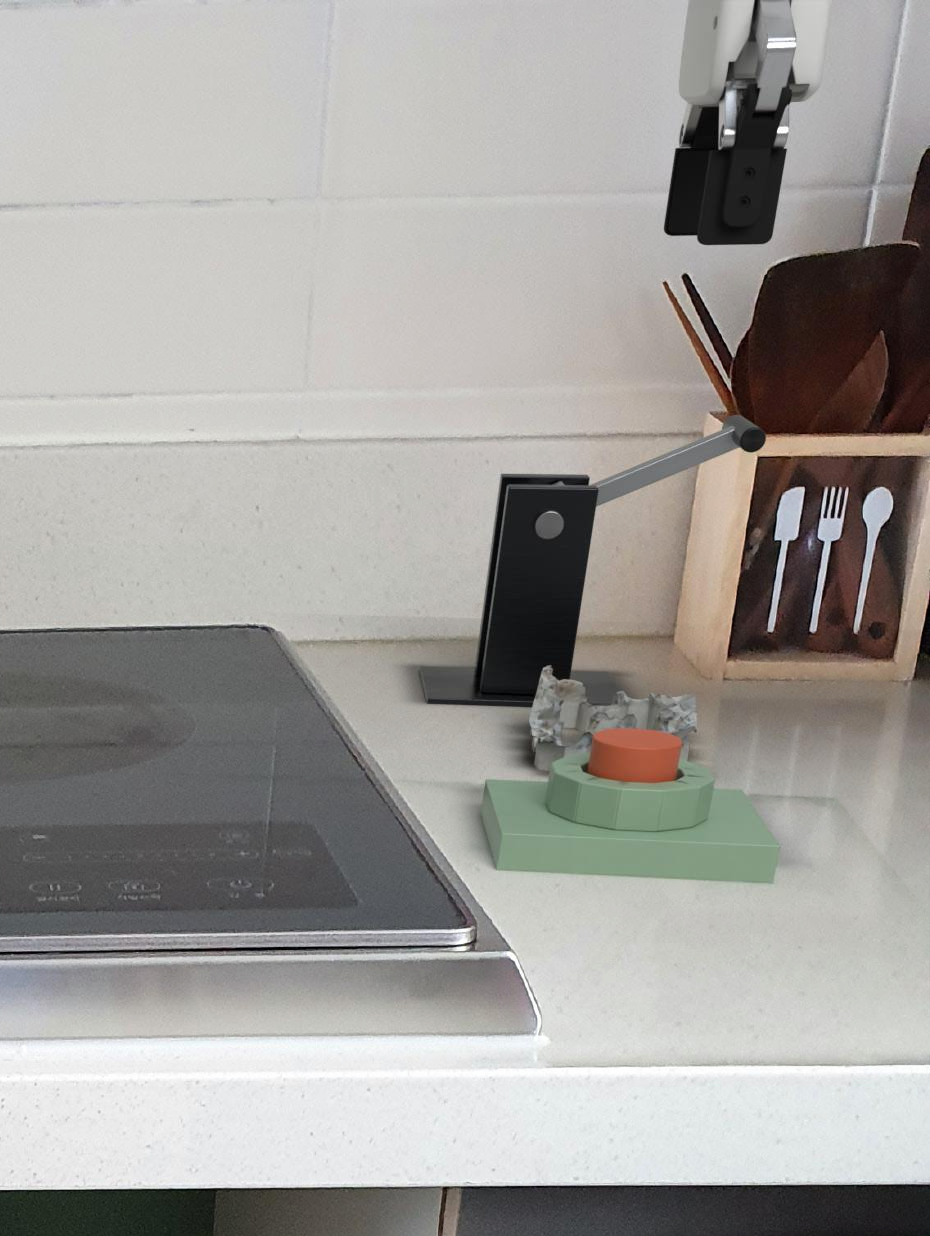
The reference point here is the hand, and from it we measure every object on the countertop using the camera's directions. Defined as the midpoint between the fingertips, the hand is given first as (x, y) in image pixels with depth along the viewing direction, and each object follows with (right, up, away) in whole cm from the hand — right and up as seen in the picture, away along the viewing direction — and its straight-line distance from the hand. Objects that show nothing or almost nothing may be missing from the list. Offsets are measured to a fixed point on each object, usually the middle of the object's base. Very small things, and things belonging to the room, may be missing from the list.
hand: (714, 239), depth 110 cm
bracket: (-5, -19, +14) cm, 24 cm away
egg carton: (-5, -26, +1) cm, 26 cm away
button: (-9, -29, -12) cm, 32 cm away
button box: (-9, -31, -10) cm, 34 cm away
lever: (0, -10, +8) cm, 13 cm away
